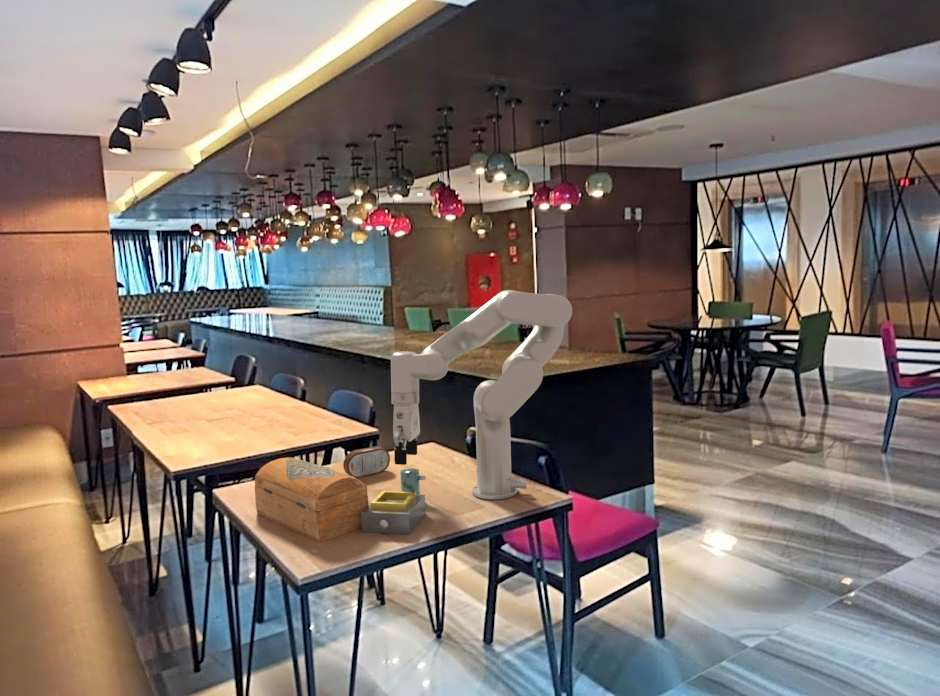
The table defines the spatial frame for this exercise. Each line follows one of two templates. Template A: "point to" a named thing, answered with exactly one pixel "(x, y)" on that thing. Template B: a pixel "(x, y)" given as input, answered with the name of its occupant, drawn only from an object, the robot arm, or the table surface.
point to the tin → (366, 461)
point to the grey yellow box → (393, 513)
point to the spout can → (411, 480)
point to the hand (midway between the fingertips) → (406, 459)
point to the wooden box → (310, 498)
